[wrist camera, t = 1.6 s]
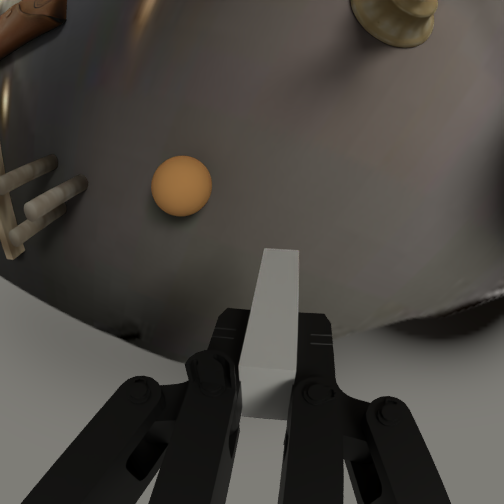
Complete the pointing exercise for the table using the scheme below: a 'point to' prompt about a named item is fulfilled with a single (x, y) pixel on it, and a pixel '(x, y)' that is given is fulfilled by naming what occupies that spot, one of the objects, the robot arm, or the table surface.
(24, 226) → the pin
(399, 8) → the hand bell
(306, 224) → the table surface
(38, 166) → the pin
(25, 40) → the sunglasses case
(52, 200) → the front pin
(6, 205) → the grey long bar
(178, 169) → the ball
